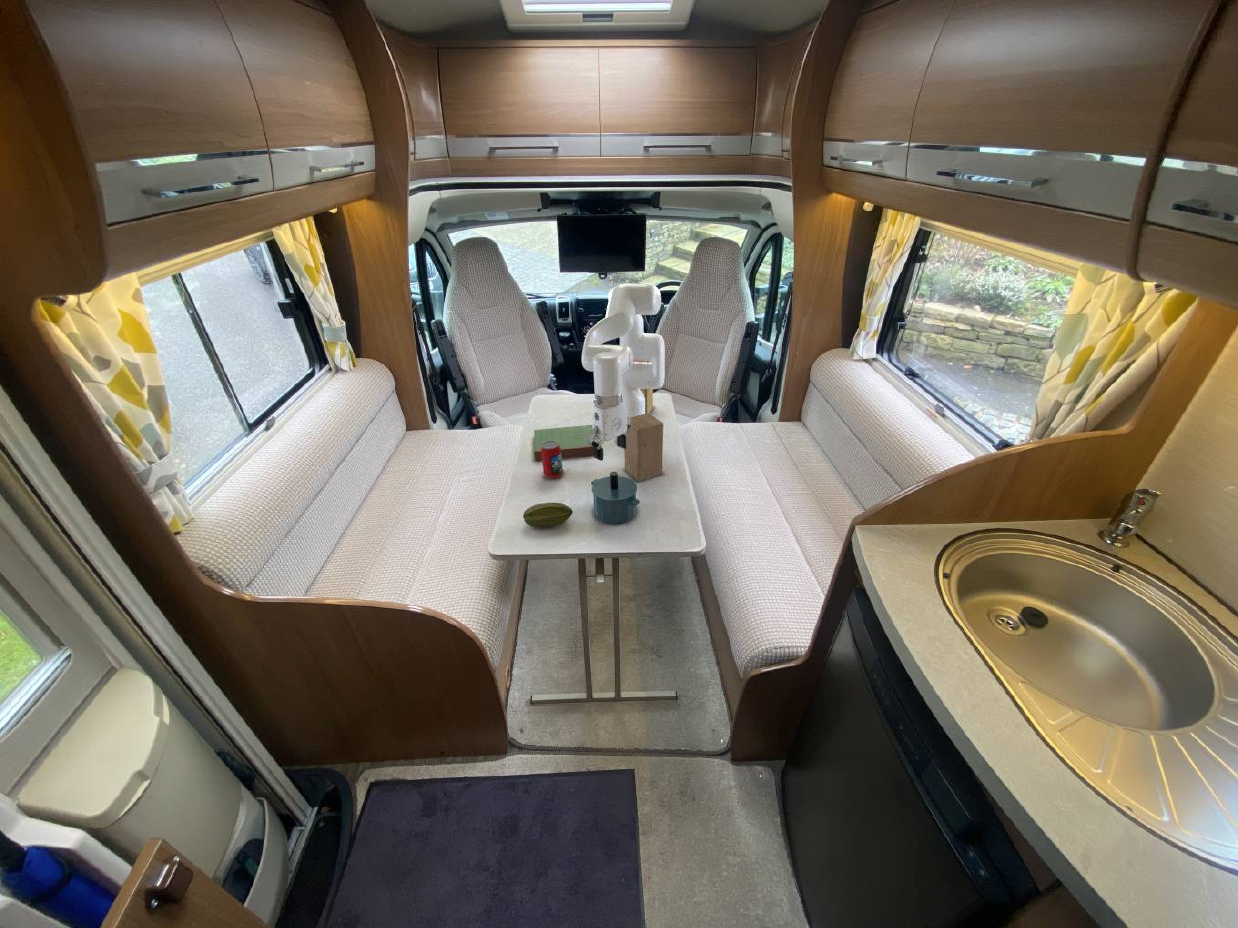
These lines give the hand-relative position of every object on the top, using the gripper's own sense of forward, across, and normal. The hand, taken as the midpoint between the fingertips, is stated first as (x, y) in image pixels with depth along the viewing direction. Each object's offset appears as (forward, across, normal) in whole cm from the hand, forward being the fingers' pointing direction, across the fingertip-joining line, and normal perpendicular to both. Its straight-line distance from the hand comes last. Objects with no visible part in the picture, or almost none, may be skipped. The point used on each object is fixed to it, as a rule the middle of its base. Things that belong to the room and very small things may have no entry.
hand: (610, 452), depth 145 cm
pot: (+21, 0, -1) cm, 21 cm away
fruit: (+21, -18, +10) cm, 29 cm away
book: (+21, +20, +44) cm, 52 cm away
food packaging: (+20, +63, +43) cm, 79 cm away
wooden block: (+21, +24, +8) cm, 33 cm away
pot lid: (+12, 0, -1) cm, 12 cm away
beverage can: (+21, +2, +31) cm, 38 cm away
